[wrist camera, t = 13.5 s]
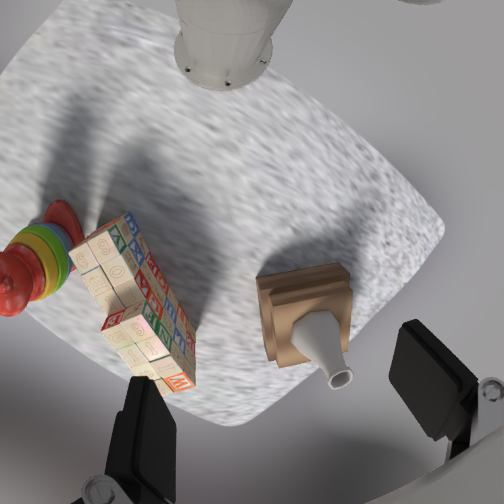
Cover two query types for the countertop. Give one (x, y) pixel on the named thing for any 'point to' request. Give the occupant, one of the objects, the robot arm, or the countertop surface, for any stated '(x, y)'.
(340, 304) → the stepped wooden pedestal
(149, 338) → the stack of blocks
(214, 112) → the countertop surface
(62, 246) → the stacking bear
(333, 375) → the flask
